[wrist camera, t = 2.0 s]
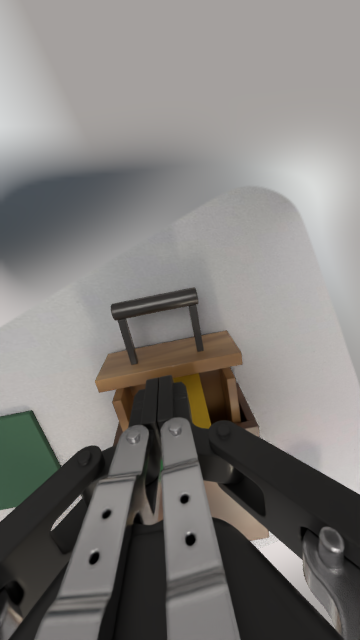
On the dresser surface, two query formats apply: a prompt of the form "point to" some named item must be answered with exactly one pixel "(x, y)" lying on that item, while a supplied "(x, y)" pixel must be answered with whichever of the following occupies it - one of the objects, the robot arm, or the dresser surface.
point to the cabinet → (217, 498)
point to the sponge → (195, 401)
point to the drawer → (172, 359)
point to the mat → (23, 458)
